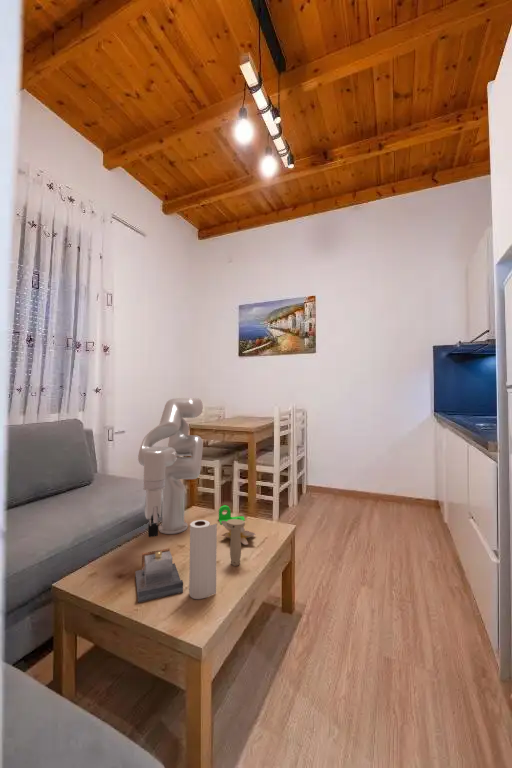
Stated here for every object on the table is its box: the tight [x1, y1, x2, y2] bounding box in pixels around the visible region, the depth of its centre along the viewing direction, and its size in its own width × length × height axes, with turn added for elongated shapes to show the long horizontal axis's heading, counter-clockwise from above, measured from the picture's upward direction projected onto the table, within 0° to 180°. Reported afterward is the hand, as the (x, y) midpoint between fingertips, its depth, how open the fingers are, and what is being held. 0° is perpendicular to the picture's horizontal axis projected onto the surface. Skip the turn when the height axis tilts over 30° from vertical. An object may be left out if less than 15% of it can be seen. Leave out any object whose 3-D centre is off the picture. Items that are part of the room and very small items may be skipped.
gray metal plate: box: [134, 562, 184, 603], centre depth 105 cm, size 16×13×3 cm
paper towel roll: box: [188, 519, 218, 600], centre depth 99 cm, size 7×6×21 cm
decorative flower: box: [220, 521, 256, 545], centre depth 135 cm, size 15×11×10 cm
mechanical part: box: [218, 504, 246, 526], centre depth 154 cm, size 12×6×8 cm, turn 105°
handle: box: [227, 519, 246, 567], centre depth 117 cm, size 5×6×15 cm
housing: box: [144, 550, 173, 586], centre depth 105 cm, size 5×8×8 cm, turn 114°
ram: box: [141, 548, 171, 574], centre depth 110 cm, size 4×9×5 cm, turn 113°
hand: (153, 535), depth 118 cm, fingers closed
